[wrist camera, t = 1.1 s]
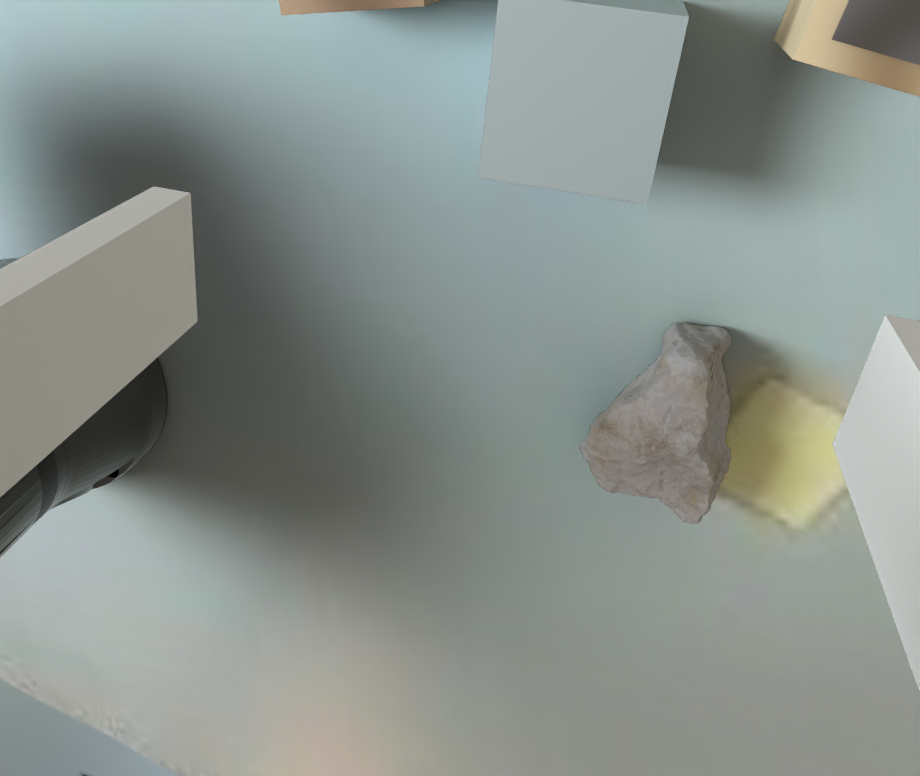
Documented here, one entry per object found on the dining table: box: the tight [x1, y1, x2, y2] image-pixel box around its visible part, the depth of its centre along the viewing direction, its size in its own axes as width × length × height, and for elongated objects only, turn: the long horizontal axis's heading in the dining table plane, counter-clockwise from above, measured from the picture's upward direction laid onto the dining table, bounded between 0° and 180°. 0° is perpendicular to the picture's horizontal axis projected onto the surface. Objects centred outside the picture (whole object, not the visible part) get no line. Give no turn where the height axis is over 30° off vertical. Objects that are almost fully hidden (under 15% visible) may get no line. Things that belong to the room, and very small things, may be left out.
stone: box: [579, 322, 732, 524], centre depth 43 cm, size 10×8×6 cm
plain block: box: [478, 0, 689, 205], centre depth 35 cm, size 7×7×7 cm
